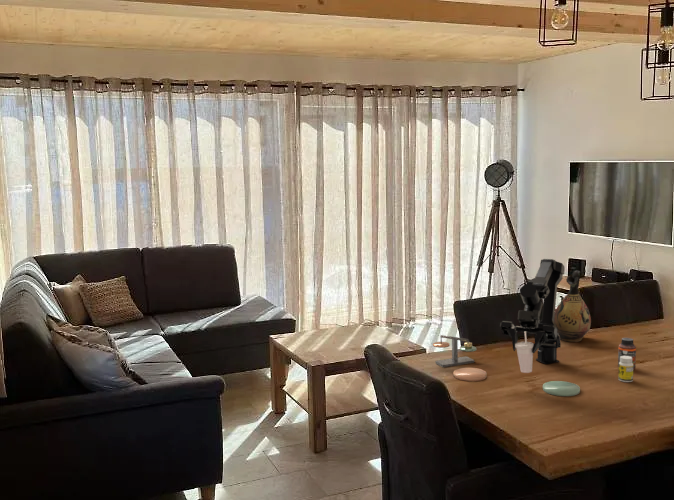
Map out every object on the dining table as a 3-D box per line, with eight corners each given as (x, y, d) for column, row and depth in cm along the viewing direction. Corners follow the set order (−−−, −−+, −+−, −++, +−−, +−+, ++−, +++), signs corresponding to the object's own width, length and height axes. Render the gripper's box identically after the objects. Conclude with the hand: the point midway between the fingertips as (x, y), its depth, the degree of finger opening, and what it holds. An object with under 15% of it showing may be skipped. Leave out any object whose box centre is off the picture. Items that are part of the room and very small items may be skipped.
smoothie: (538, 373, 224) (535, 332, 223) (518, 374, 225) (516, 334, 224) (533, 368, 231) (530, 328, 230) (515, 369, 231) (512, 330, 230)
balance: (470, 357, 265) (470, 328, 264) (479, 362, 259) (479, 332, 258) (430, 363, 259) (429, 334, 258) (438, 368, 253) (437, 337, 252)
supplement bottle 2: (615, 378, 235) (616, 355, 234) (628, 377, 235) (629, 354, 234) (622, 382, 230) (623, 359, 229) (635, 382, 231) (636, 358, 230)
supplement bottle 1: (627, 372, 242) (628, 342, 240) (614, 367, 247) (614, 338, 245) (638, 369, 244) (639, 339, 243) (625, 365, 250) (626, 336, 248)
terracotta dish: (475, 369, 251) (475, 366, 251) (493, 378, 240) (493, 375, 240) (447, 373, 247) (447, 370, 247) (464, 382, 236) (464, 379, 236)
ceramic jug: (586, 345, 277) (587, 275, 273) (549, 341, 285) (549, 273, 281) (594, 336, 291) (595, 269, 287) (558, 332, 299) (559, 267, 295)
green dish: (563, 382, 233) (563, 379, 233) (587, 392, 222) (587, 389, 221) (535, 387, 229) (535, 384, 229) (558, 398, 218) (558, 394, 217)
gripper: (501, 298, 233) (491, 336, 225) (555, 302, 223) (547, 342, 216) (507, 315, 241) (498, 352, 233) (560, 320, 231) (552, 359, 223)
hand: (523, 351), depth 226 cm, fingers closed on smoothie, 6 cm apart
